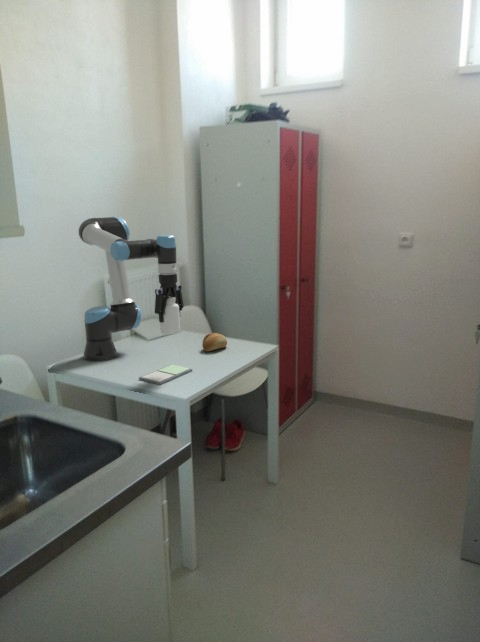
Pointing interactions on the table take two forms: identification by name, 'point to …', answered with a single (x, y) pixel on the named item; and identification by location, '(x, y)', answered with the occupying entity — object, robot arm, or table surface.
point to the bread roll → (214, 342)
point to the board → (165, 374)
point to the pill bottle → (172, 317)
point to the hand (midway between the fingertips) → (170, 327)
